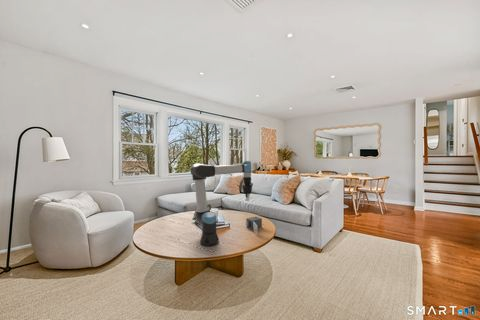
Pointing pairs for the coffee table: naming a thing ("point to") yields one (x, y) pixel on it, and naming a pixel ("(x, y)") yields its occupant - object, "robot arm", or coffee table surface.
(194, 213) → the sign
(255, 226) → the side door
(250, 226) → the camera body
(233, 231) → the coffee table surface
